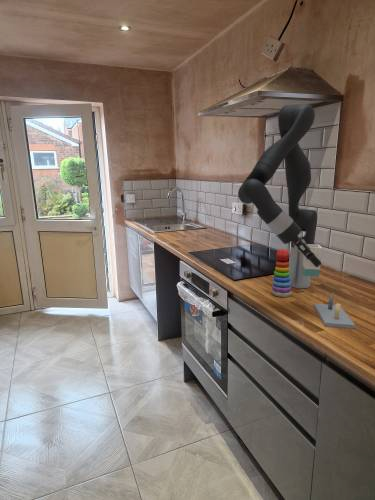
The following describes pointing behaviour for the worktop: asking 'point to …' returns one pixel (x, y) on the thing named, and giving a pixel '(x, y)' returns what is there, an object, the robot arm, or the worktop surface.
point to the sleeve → (308, 266)
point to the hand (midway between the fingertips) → (317, 262)
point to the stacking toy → (282, 275)
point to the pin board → (333, 315)
